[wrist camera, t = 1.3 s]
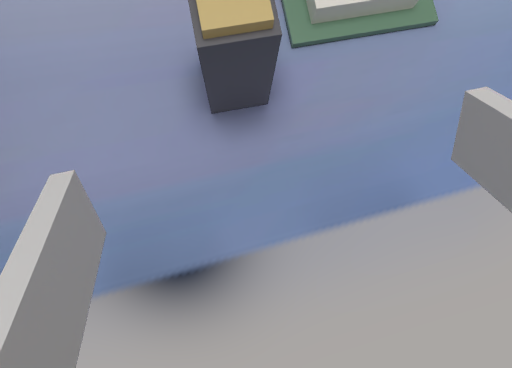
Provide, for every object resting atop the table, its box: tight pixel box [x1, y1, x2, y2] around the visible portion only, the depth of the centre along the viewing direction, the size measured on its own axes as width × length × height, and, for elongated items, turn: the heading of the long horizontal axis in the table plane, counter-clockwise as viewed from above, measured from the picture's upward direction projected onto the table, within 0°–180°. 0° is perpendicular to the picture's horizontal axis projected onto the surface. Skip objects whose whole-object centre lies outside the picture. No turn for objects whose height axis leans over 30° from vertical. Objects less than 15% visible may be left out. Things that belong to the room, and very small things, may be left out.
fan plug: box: [188, 0, 282, 114], centre depth 24 cm, size 4×5×11 cm
